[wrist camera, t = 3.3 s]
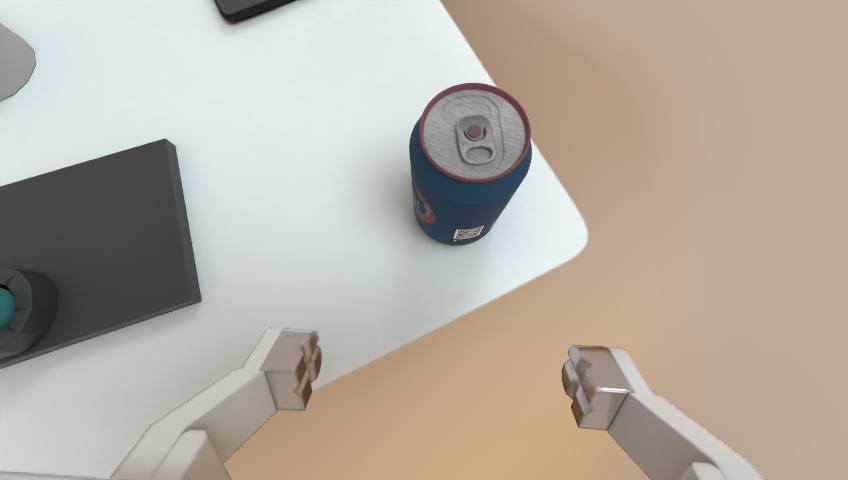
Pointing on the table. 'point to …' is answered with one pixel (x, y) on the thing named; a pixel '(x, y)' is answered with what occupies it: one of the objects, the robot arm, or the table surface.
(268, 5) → the smartphone
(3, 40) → the cup
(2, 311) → the tare button
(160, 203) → the scale
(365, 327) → the table surface
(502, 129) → the soda can
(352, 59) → the table surface
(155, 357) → the table surface
